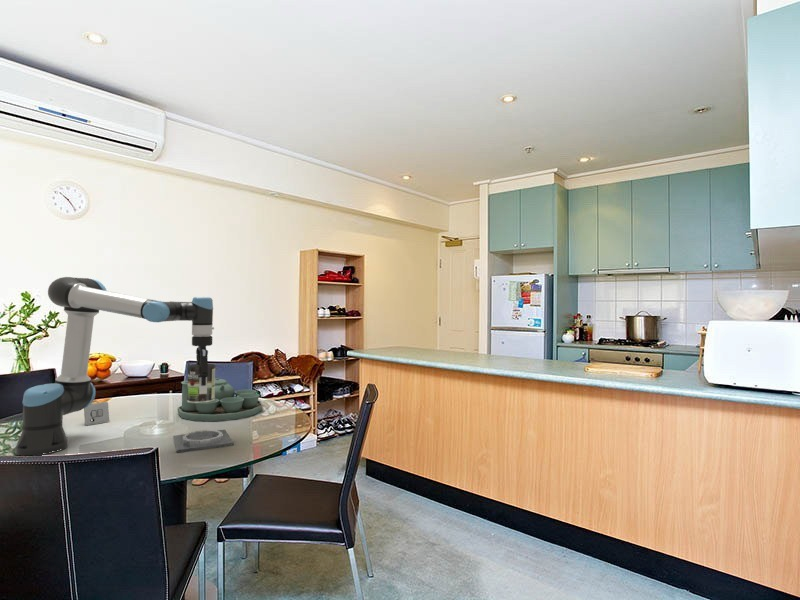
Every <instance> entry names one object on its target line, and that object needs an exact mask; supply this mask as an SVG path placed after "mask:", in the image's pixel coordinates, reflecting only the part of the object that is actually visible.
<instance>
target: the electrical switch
mask: <svg viewBox="0 0 800 600" xmlns="http://www.w3.org/2000/svg"><path fill="white" fill-rule="evenodd" d="M109 409H110V408H109V402H108V401H103V402H92V403H91V404H90V405H89V406H88V407H86V408H84V409H83V412H84V413H83V415H84V425H85V426H93V424H94V425H98V424H99V423H100V424H103V423H104V424H105V422H106V423H109V422H110V412H109Z"/></svg>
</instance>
